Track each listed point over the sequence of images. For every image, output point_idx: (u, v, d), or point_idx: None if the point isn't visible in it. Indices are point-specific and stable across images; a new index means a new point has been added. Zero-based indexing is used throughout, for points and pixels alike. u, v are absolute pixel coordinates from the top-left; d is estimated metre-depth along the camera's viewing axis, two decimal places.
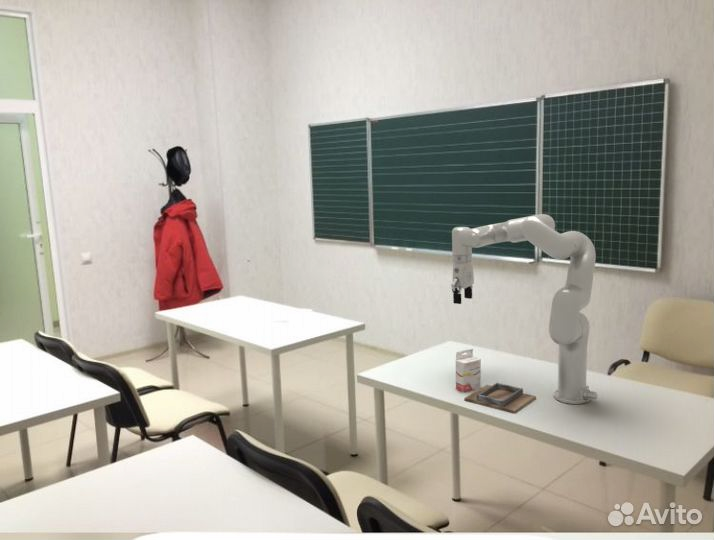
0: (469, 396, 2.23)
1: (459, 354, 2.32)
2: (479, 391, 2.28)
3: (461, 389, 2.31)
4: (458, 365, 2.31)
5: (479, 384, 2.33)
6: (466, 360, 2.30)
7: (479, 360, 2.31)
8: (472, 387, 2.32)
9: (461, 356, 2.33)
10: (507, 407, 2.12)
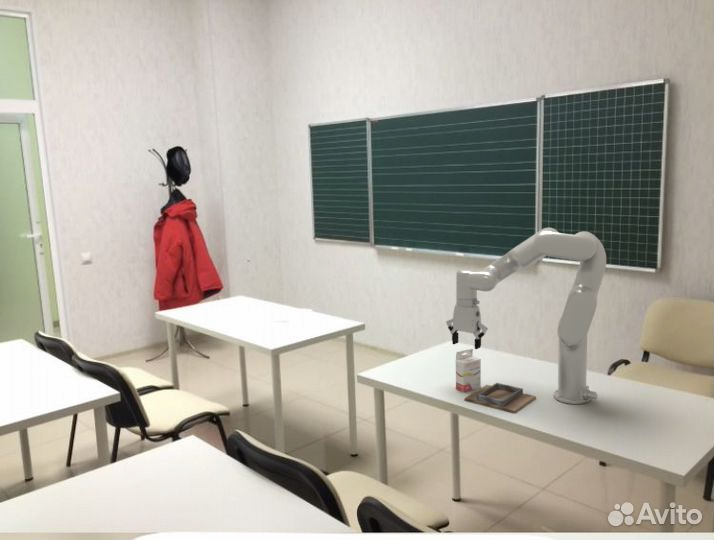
0: (469, 396, 2.23)
1: (459, 354, 2.32)
2: (479, 391, 2.28)
3: (461, 389, 2.31)
4: (458, 365, 2.31)
5: (479, 384, 2.33)
6: (466, 360, 2.30)
7: (479, 360, 2.31)
8: (472, 387, 2.32)
9: (461, 356, 2.33)
10: (507, 407, 2.12)
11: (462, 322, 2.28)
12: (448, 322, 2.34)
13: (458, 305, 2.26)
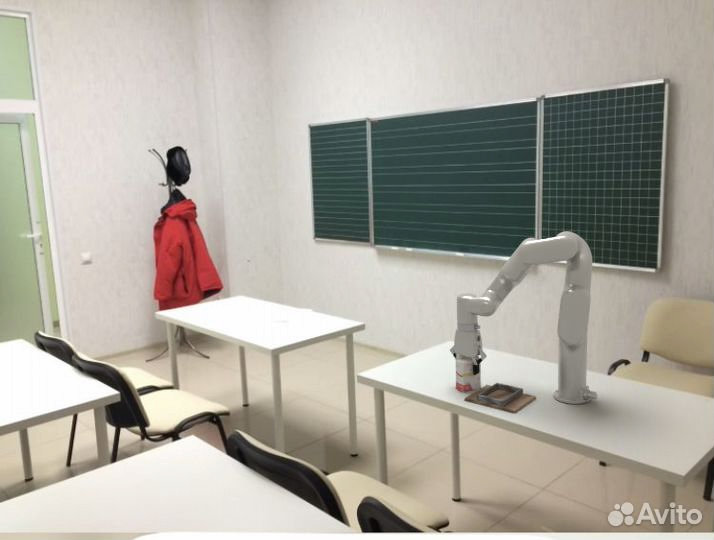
0: (469, 396, 2.23)
1: None
2: (479, 391, 2.28)
3: (461, 389, 2.31)
4: (458, 365, 2.30)
5: (479, 384, 2.33)
6: (466, 360, 2.30)
7: None
8: (472, 387, 2.32)
9: (461, 356, 2.33)
10: (507, 407, 2.12)
11: (463, 347, 2.29)
12: (451, 350, 2.35)
13: (459, 330, 2.28)
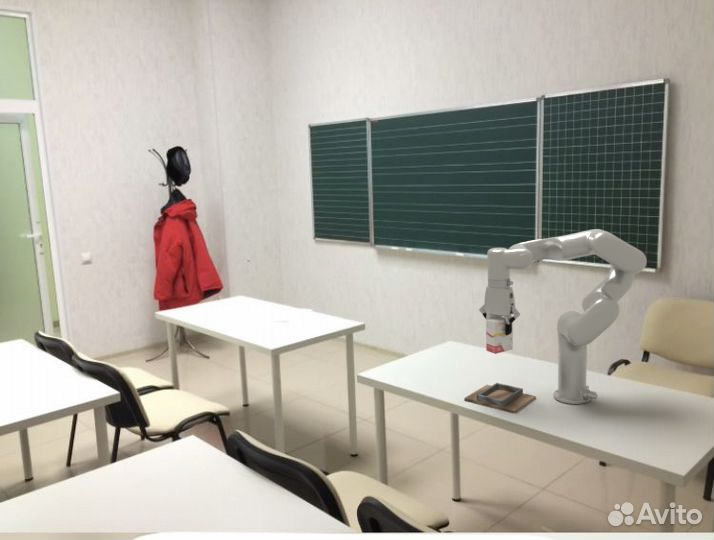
0: (469, 396, 2.23)
1: None
2: (479, 391, 2.28)
3: (492, 350, 2.15)
4: (489, 325, 2.15)
5: (511, 345, 2.18)
6: (498, 319, 2.15)
7: None
8: (504, 349, 2.16)
9: (491, 315, 2.17)
10: (507, 407, 2.12)
11: (495, 305, 2.14)
12: (481, 309, 2.20)
13: (490, 287, 2.13)
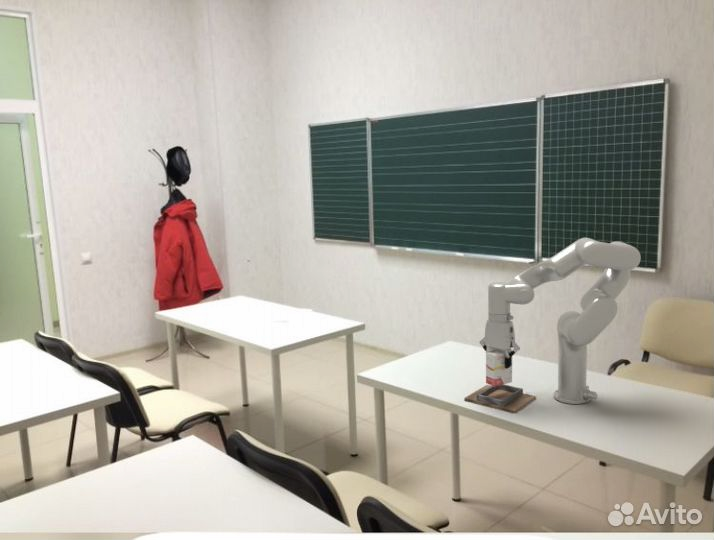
0: (469, 396, 2.23)
1: (489, 346, 2.19)
2: (479, 391, 2.28)
3: (492, 383, 2.17)
4: (489, 358, 2.17)
5: (510, 378, 2.20)
6: (498, 353, 2.17)
7: None
8: (503, 381, 2.18)
9: (491, 348, 2.19)
10: (507, 407, 2.12)
11: (495, 338, 2.16)
12: (481, 342, 2.22)
13: (490, 321, 2.15)
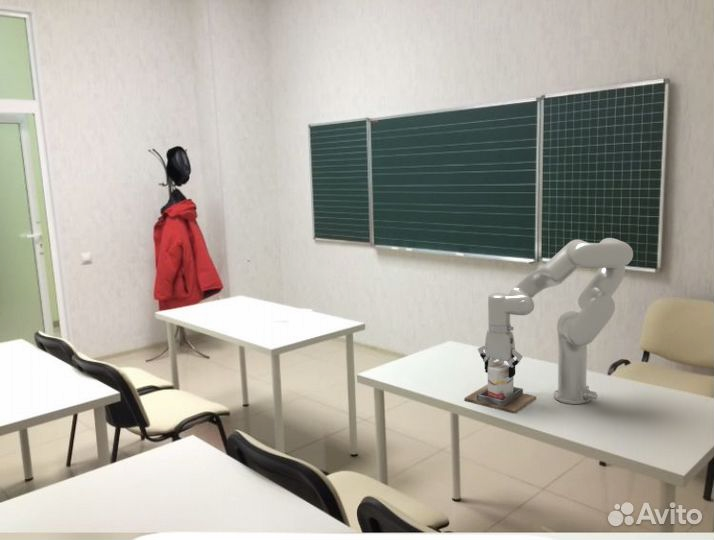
0: (469, 396, 2.23)
1: (491, 361, 2.19)
2: (479, 391, 2.28)
3: None
4: (491, 373, 2.18)
5: (512, 392, 2.21)
6: (499, 368, 2.17)
7: None
8: (505, 396, 2.19)
9: (493, 363, 2.20)
10: (507, 407, 2.12)
11: (495, 349, 2.17)
12: (480, 349, 2.23)
13: (491, 332, 2.15)
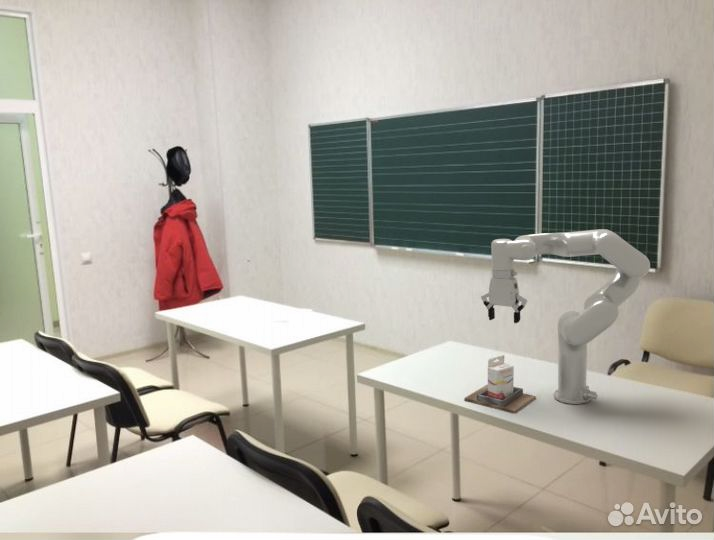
0: (469, 396, 2.23)
1: (491, 361, 2.19)
2: (479, 391, 2.28)
3: None
4: (491, 373, 2.18)
5: (512, 392, 2.21)
6: (499, 368, 2.17)
7: (512, 367, 2.19)
8: (505, 396, 2.19)
9: (493, 363, 2.20)
10: (507, 407, 2.12)
11: (499, 295, 2.16)
12: (483, 297, 2.22)
13: (495, 278, 2.15)
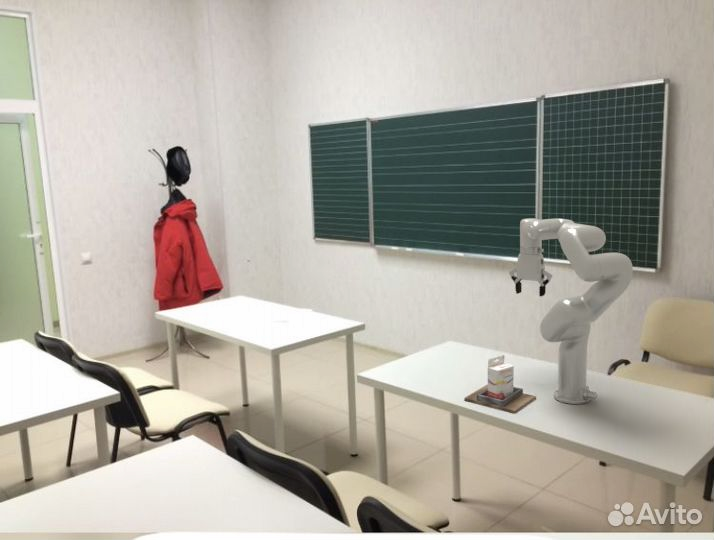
0: (469, 396, 2.23)
1: (491, 361, 2.19)
2: (479, 391, 2.28)
3: None
4: (491, 373, 2.18)
5: (512, 392, 2.21)
6: (499, 368, 2.17)
7: (512, 367, 2.19)
8: (505, 396, 2.19)
9: (493, 363, 2.20)
10: (507, 407, 2.12)
11: (526, 270, 2.34)
12: (511, 272, 2.41)
13: (522, 254, 2.33)
